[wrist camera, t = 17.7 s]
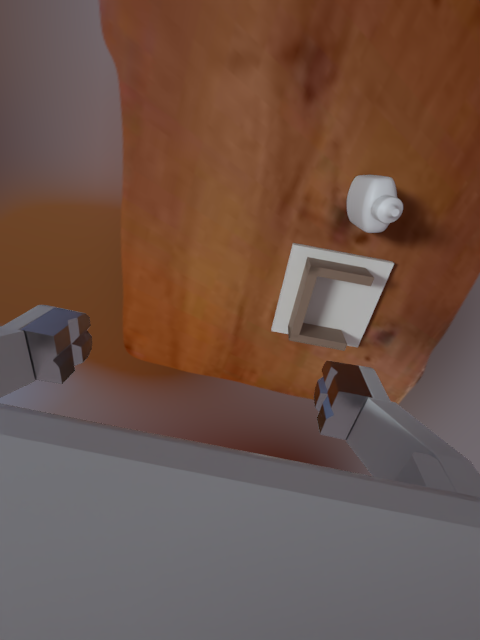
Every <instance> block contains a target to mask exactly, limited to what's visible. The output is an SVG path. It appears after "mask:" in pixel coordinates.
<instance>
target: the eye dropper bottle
mask: <svg viewBox="0 0 480 640" xmlns="http://www.w3.org/2000/svg"><path fill="white" fill-rule="evenodd" d="M402 211H403V204H402V202H401V201H400V200H399V199H398V198H397V191H396V186H395V183H394V180H393V179H392V178H391V177H386V176H378V175H359V176H356V177H355V178H354V180H353V182H352V184H351V186H350V189H349V192H348V196H347V213H348V217H349V220H350V221H351V222H352V223H353V224H354V225H356V226H357V227H359V228H360V229H362V230H363V231H365V232H368V233H379V232H383V231H384V230H385V229H386V228H387V227H388V225H389V224H390V223H391V222H394V221H396V220H397V219H398V218H399V217H400V215H401V214H402Z"/></svg>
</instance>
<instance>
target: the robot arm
mask: <svg viewBox="0 0 480 640" xmlns="http://www.w3.org/2000/svg"><path fill="white" fill-rule="evenodd" d="M90 326H91V324H90V317H89V316H88V315H87V314H85V313H81V312H76V311H71V310H66V309H62V308H57V307H52V306H47V305H38V306H36V307H35V308H33V309H31V310H29V311H28V312H26V313H24V314H23V315H21V316H19V317H18V318H16V319H14V320H12V321H11V322H9V323H7V324H6V325H4V326H2V327H1V326H0V398H1V397H3V396H5V395H7V394H9V393H11V392H13V391H15V390H17V389H19V388H21V387H23V386H26V385H28V384H30V383H32V382H34V381H35V380H41V381H47V382H53V383H59V384H63V382H65V381H66V380H67V379H68V378H69V376H70V375H71V374H72V373H73V372H74V371H75V367H74V366H75V365H78V364H80V363H83V362H84V361H85V360H86V359H87V358H88V356H89V354H90V351H91V349H92V336H91V335H90V334H89V332H88V331H87V329H88V328H89V327H90ZM322 373H323V377H322V378H321V379H319V380H318V381H317V384H316V387H315V393H314V404H315V408H316V409H317V410H318V411H319V414H318V416H317V421H318V427H319V432H320V434H321V435H326V436H330V437H335V438H339V439H343V440H346V441H347V443H348V444H349V446H350V447H351V448H352V450H353V451H354V452H355V453H356V455H357V456H358V458H359V459H360V460H361V461H362V463H363V464H364V465H365V467H366V468H367V469H368V471H369V472H370V473H371V474H372V476H369V475H364V474H358V473H354V472H348V471H343V470H338V469H332V468H327V467H322V466H317V465H312V464H307V463H302V462H297V461H292V460H286V459H281V458H276V457H271V456H266V455H261V454H256V453H251V452H246V451H241V450H236V449H230V448H226V447H220V446H216V445H210V444H205V443H200V442H195V441H190V440H185V439H179V438H174V437H169V436H164V435H159V434H154V433H148V432H143V431H138V430H133V429H128V428H123V427H118V426H112V425H107V424H102V423H97V422H92V421H87V420H82V419H77V418H71V417H66V416H61V415H56V414H51V413H46V412H41V411H36V410H31V409H26V408H20V407H15V406H10V405H5V404H0V640H480V474H479V473H478V471H477V470H476V468H475V467H474V465H473V464H472V463H471V461H469V460H468V459H467V458H466V457H464V456H463V455H462V454H460V453H459V452H458V451H457V450H455V449H454V448H453V447H451V446H450V445H449V444H448V443H446V442H445V441H444V440H443V439H441V438H440V437H439V436H437V435H436V434H435V433H434V432H432V431H431V430H430V429H428V428H427V427H426V426H425V425H423V424H422V423H421V422H420V421H418V420H417V419H416V418H414V417H413V416H412V415H411V414H409V413H408V412H407V411H406V410H404V409H403V408H402V407H400V406H399V405H398V404H397V403H395V402H391V401H390V399H389V397H388V396H387V394H386V392H385V390H384V388H383V386H382V384H381V382H380V380H379V378H378V376H377V374H376V372H375V370H374V369H373V368H370V367H364V366H357V365H351V364H345V363H339V362H333V361H326V362H325V364H324V366H323V368H322Z"/></svg>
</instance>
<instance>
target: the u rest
mask: <svg viewBox="0 0 480 640" xmlns="http://www.w3.org/2000/svg"><path fill="white" fill-rule="evenodd" d="M393 265H394V263H393V262H392V261H387V260H381V259H376V258H371V257H365V256H360V255H355V254H349V253H344V252H339V251H333V250H328V249H323V248H317V247H312V246H307V245H301V244H296V243H293V245H292V249H291V253H290V257H289V261H288V265H287V269H286V273H285V277H284V281H283V285H282V289H281V293H280V297H279V301H278V305H277V309H276V313H275V317H274V321H273V325H272V331H275V332H280V333H285V334H288V335H289V340H291V341H296V342H301V343H306V344H312V345H317V346H322V347H327V348H333V349H338V350H343V351H345V348H346V346H347V345H348V346H354V347H358V346H359V343H360V341H361V339H362V336H363V334H364V332H365V330H366V327H367V325H368V323H369V320H370V318H371V316H372V314H373V311H374V309H375V307H376V304H377V302H378V300H379V297H380V295H381V293H382V291H383V288H384V286H385V284H386V281H387V279H388V277H389V275H390V272H391V270H392V268H393Z"/></svg>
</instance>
